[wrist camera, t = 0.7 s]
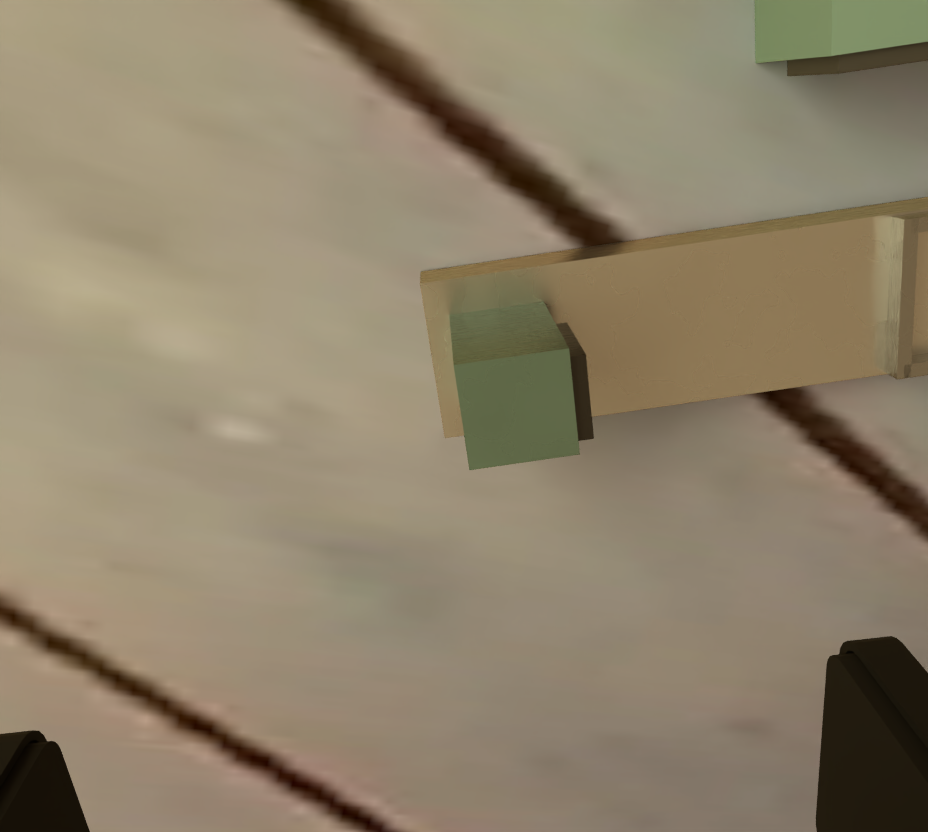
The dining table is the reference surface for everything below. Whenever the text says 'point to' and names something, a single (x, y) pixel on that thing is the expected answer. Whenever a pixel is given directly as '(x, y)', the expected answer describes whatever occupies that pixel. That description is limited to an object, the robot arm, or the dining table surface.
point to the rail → (673, 324)
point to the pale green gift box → (840, 34)
